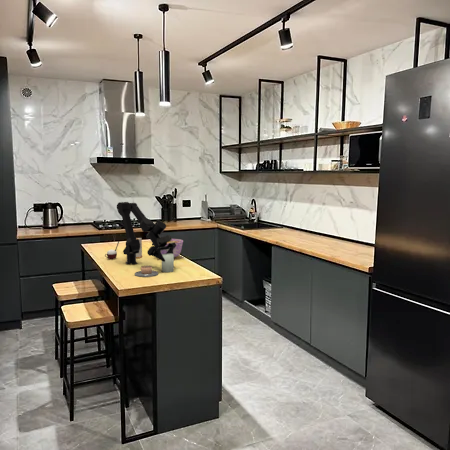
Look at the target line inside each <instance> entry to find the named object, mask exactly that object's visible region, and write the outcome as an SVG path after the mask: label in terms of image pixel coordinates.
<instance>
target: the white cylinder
mask: <svg viewBox="0 0 450 450" xmlns="http://www.w3.org/2000/svg"><path fill="white" fill-rule="evenodd" d="M162 256H163V257H164V259H165V262H163V261H162V260H161V272H162V273H173V272H174V271H175V264H174V263H175V258H174V254H172V253H164V254H162Z"/></svg>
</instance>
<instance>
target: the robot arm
mask: <svg viewBox="0 0 450 450" xmlns="http://www.w3.org/2000/svg"><path fill="white" fill-rule="evenodd" d="M116 210H117V213H118V214H119V216H120V217H121V219H122V222H123V228H124V231H125V236H126V241H125V247H124V249H123V251H122V253H123V255H126V261H125V264H126V265H137V264H138V262H137V258H136V253H139V250H140V242H139V239H136V238H137V237H136V235H135V231H134V227H133V222H132V219H131V213H132V214H133V216H134V217H135V219H136V220H137V221H138V223H139V227H140V230H142V231H141V232H143V233H147V234H146V235H145V236H146V237H145V238H146V239H150V242H151V245H152V246H151V245H150V247H149V248H148V250H147V255H148V256H152V257H154V258H157V259H158V260H160V261H161V262H162V261H163V262H165V259H164V257H163V256H162V254H161V251H162V250H166V251H167V253H172V254H173V249H174V248H175V247H176V244H175V243H169V244H168V246H165V245H167V242H169V241H171V240H172V239H173V238H172V236H171V235H170V234H168V235H165V236H160V235H162V233H163V232H164V231H165V229H166V228H167V224H166V223H165V222H164V221H161V220H160V219H157V220H156V221H155V223H154V222H153V221H152V220H151V219H149V218H148V217H146V215H145V214H144V212H143V211H142V210H141V208H140V207H139V206H138V204H137V203H136V202H129V201H121V202H117V205H116Z"/></svg>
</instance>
